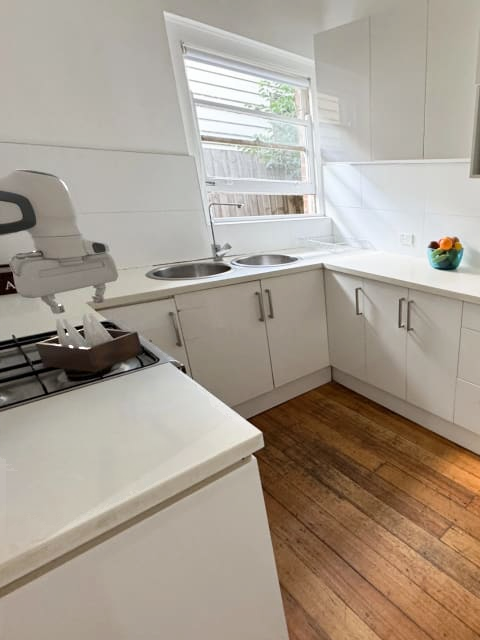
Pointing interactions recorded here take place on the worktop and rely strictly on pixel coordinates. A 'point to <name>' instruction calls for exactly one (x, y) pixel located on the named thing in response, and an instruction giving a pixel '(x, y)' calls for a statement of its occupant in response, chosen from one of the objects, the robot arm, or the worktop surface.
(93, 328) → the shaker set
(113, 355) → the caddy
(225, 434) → the worktop surface
